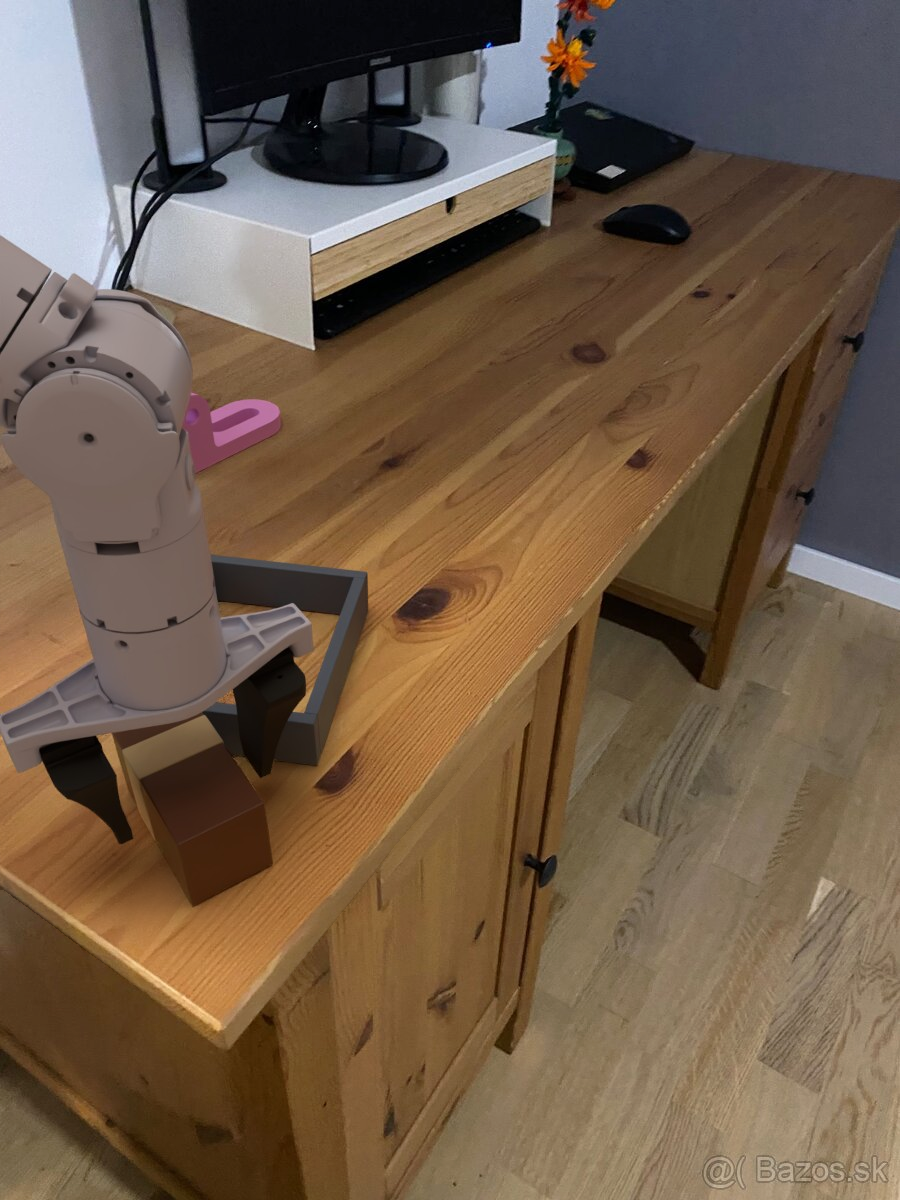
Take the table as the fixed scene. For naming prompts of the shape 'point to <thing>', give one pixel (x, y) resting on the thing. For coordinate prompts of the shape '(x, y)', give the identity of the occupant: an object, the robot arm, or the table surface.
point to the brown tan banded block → (195, 804)
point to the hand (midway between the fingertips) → (191, 795)
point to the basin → (333, 596)
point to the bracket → (227, 428)
